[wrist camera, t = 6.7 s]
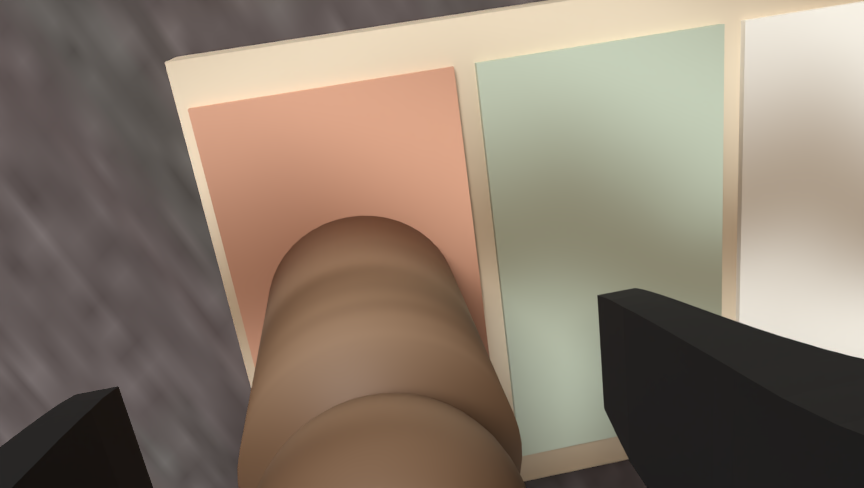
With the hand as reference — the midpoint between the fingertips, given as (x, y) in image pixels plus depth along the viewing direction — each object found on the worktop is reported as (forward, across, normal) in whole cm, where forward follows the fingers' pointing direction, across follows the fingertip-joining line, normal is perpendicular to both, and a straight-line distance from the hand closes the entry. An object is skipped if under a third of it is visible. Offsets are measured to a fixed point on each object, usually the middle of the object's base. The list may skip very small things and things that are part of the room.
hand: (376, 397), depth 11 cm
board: (+4, -5, 0) cm, 7 cm away
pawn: (+3, 0, 0) cm, 3 cm away
